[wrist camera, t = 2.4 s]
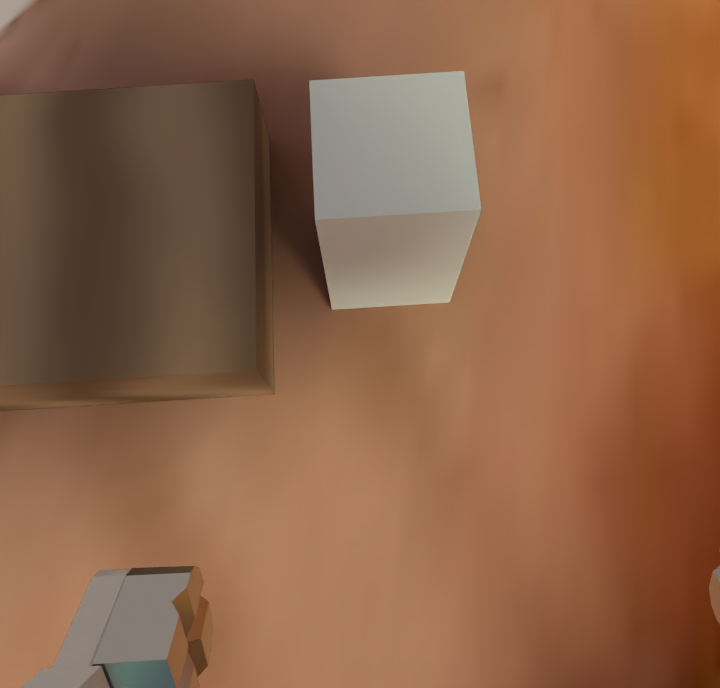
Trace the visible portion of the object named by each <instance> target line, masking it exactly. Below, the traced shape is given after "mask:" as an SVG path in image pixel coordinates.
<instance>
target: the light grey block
mask: <svg viewBox="0 0 720 688" xmlns="http://www.w3.org/2000/svg"><path fill="white" fill-rule="evenodd" d="M309 88H310V112H311V137H312V161H313V186H314V210H315V223H316V228H317V234H318V239H319V244H320V249H321V255H322V260H323V265H324V271H325V276H326V281H327V286H328V292H329V297H330V302H331V308H332V310H334V309H350V308H366V307H383V306H399V305H415V304H431V303H447V302H450V300H451V297H452V294H453V292H454V289H455V286H456V283H457V280H458V277H459V274H460V271H461V268H462V265H463V262H464V259H465V256H466V253H467V250H468V247H469V245H470V242H471V239H472V236H473V233H474V230H475V227H476V224H477V221H478V218H479V215H480V212H481V203H480V195H479V187H478V179H477V171H476V163H475V155H474V147H473V140H472V132H471V124H470V116H469V108H468V100H467V92H466V84H465V76H464V71H454V72H438V73H422V74H406V75H390V76H374V77H358V78H342V79H326V80H310V81H309Z"/></svg>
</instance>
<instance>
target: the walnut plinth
mask: <svg viewBox="0 0 720 688" xmlns="http://www.w3.org/2000/svg"><path fill="white" fill-rule="evenodd" d="M266 394H274V350H273V296H272V242H271V189H270V139H269V135H268V132H267V128H266V124H265V121H264V117H263V113H262V109H261V106H260V102H259V98H258V95H257V91H256V87H255V83H254V80H253V79H252V80H236V81H221V82H205V83H189V84H173V85H158V86H142V87H126V88H110V89H95V90H79V91H63V92H47V93H32V94H16V95H0V411H4V410H21V409H37V408H53V407H70V406H86V405H102V404H119V403H135V402H151V401H168V400H184V399H200V398H217V397H233V396H249V395H266Z"/></svg>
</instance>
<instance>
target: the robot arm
mask: <svg viewBox="0 0 720 688" xmlns="http://www.w3.org/2000/svg"><path fill="white" fill-rule="evenodd" d="M719 552H720V550H719ZM203 583H204V581H203V578H202V575H201V571H200V568H199V567H196V566H182V567H153V568H132V569H111V570H99V571H98V572H97V573H96V575H95V576H94V577H93V578H92V579H91V581H90V583H89V585H88V588H87V590H86V592H85V594H84V597H83V599H82V601H81V603H80V606H79V608H78V610H77V612H76V615H75V617H74V619H73V621H72V624H71V626H70V628H69V631H68V633H67V635H66V637H65V640H64V642H63V644H62V646H61V649H60V651H59V653H58V655H57V658H56V660H55V662H54V664H53V667H52V668H48V669H41V670H40V671H39V672H38V673H37V674H35V675H34V676H33V677H32V678H31V679H30V680H29V681H28V682H26V683H25V684H24V685H23V686H22V687H21V688H200V684H199V681H198V676H199V675H200V674H201V673H202V672H203V671H204V670H205V669H206V667H207V666H208V663H209V658H210V653H211V647H212V630H213V625H212V614H211V609H210V605H209V602H208V601H207V600H206V599H204V598H203V597H202V596H201V592H202V587H203ZM709 591H710V599H711V606H712V608H713V611H714V613H715V616H716V619H717V621H718V622H719V624H720V566H719V567H718V568H716V569H715V570H714V571H713V573H712V577H711V581H710V585H709Z"/></svg>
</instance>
